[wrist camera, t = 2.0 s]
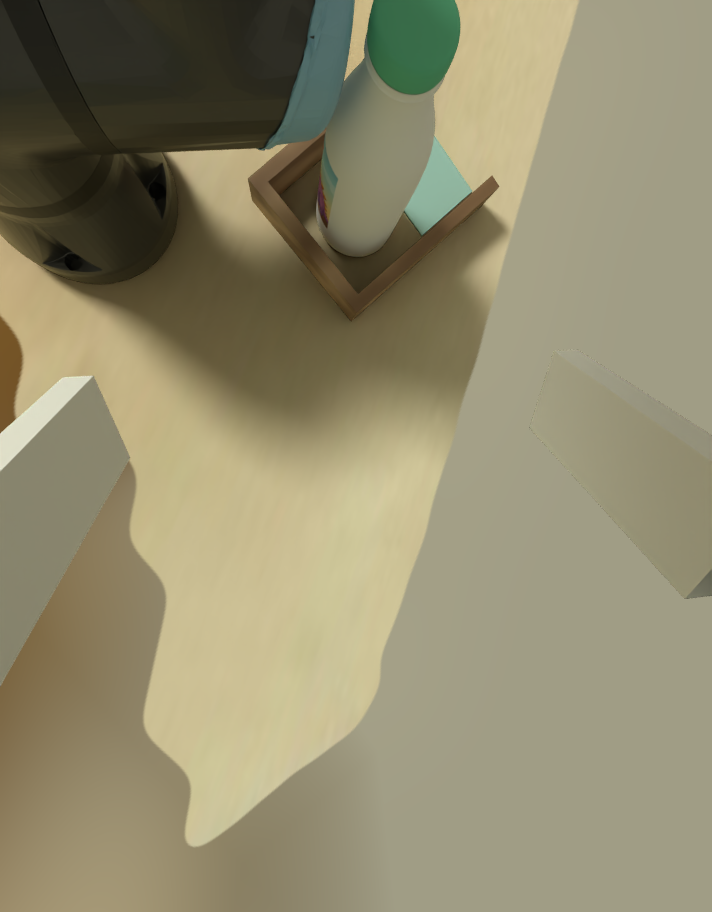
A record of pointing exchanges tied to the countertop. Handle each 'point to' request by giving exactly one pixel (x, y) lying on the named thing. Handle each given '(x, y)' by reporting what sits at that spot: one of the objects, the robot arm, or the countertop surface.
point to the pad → (436, 191)
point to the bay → (266, 197)
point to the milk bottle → (384, 123)
